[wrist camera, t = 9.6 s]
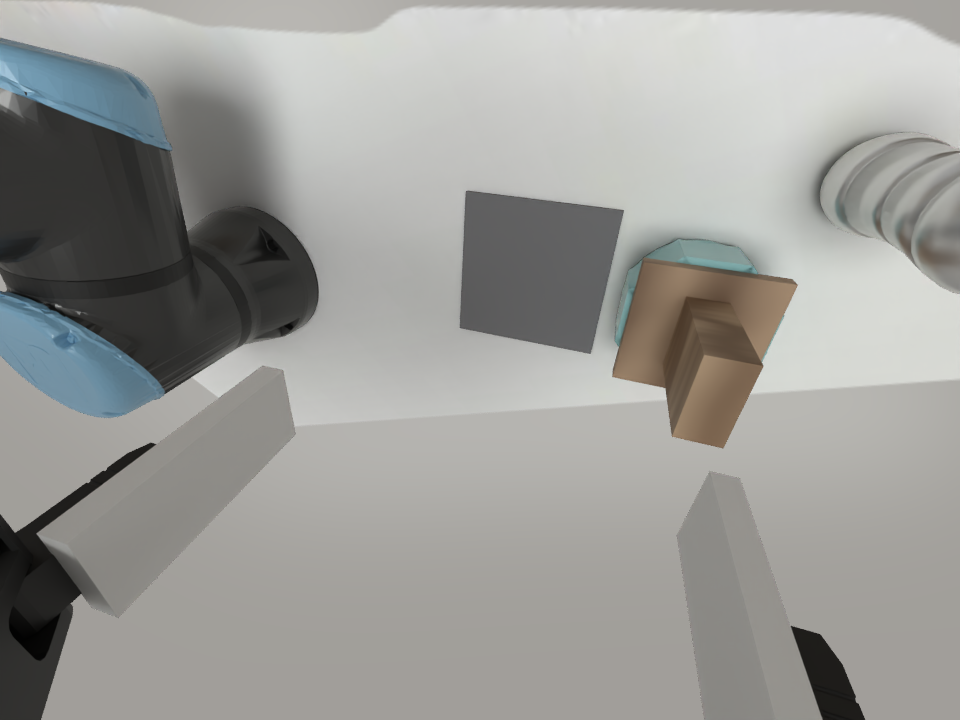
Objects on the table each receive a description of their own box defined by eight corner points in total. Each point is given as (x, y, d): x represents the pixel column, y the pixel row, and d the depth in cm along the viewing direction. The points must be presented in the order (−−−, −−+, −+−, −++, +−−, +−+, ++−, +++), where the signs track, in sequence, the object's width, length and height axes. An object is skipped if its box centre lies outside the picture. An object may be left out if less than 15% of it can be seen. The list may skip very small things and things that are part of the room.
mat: (460, 326, 46) (459, 327, 46) (466, 190, 39) (465, 191, 39) (590, 352, 43) (590, 353, 43) (623, 210, 36) (623, 211, 36)
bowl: (608, 342, 42) (606, 373, 37) (637, 230, 37) (638, 249, 32) (728, 365, 40) (743, 401, 35) (779, 249, 34) (805, 273, 29)
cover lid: (612, 369, 37) (608, 446, 29) (643, 257, 32) (648, 310, 23) (737, 395, 35) (772, 486, 26) (792, 279, 30) (857, 346, 21)
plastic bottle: (908, 225, 31) (1223, 356, 15) (799, 229, 33) (967, 348, 17) (945, 124, 28) (1395, 148, 12) (822, 135, 30) (1056, 168, 14)
